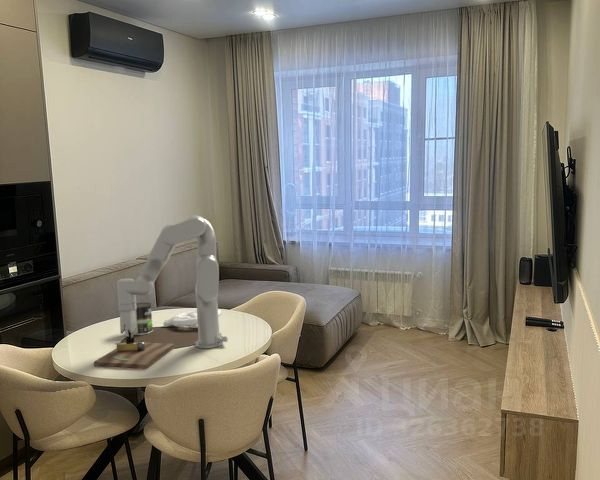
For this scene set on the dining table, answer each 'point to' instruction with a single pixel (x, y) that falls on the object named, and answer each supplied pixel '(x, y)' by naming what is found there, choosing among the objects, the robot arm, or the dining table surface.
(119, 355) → the tuner board
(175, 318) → the pretzel
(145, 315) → the coffee can
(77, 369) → the dining table surface
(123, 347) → the peg
